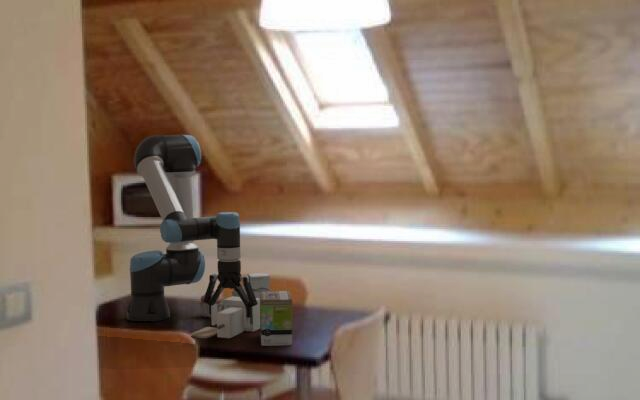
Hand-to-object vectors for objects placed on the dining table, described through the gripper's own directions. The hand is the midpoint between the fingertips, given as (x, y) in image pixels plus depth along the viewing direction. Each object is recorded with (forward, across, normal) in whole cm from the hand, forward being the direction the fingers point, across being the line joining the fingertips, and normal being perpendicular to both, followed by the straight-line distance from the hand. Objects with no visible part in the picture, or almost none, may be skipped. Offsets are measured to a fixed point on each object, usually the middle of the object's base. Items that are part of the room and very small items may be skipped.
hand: (230, 325), depth 299 cm
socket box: (+3, 0, +8) cm, 9 cm away
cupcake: (+3, -20, +22) cm, 30 cm away
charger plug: (+3, 0, 0) cm, 3 cm away
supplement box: (+3, -10, +40) cm, 41 cm away
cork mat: (+3, -8, -2) cm, 9 cm away
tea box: (+3, +18, -2) cm, 18 cm away
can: (+3, -6, +20) cm, 21 cm away
